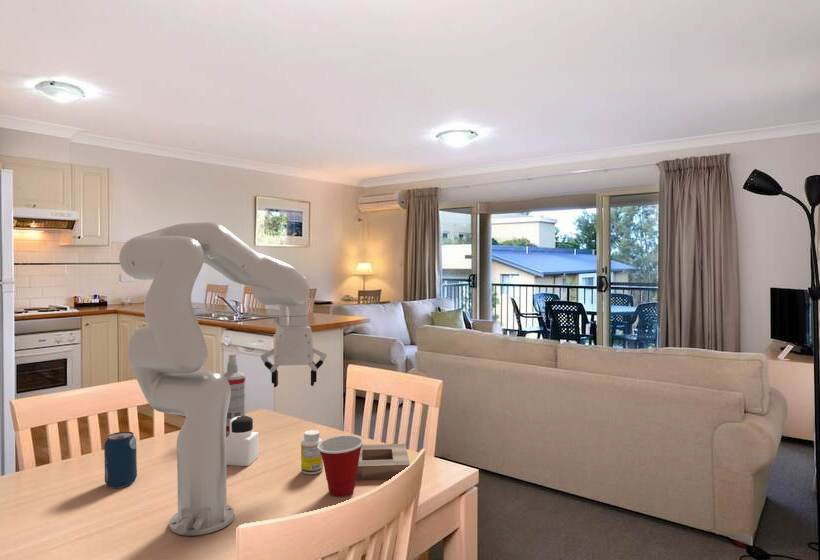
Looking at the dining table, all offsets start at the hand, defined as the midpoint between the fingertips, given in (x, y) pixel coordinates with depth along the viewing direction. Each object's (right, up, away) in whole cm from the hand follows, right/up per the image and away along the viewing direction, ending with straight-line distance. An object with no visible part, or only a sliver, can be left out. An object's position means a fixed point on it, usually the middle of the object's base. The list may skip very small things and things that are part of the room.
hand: (294, 385), depth 143 cm
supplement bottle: (+5, -22, -4) cm, 23 cm away
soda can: (-40, -22, -12) cm, 47 cm away
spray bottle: (-26, -21, +30) cm, 45 cm away
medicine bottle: (-15, -22, +3) cm, 27 cm away
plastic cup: (+15, -22, -17) cm, 31 cm away
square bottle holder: (+22, -21, -2) cm, 31 cm away
